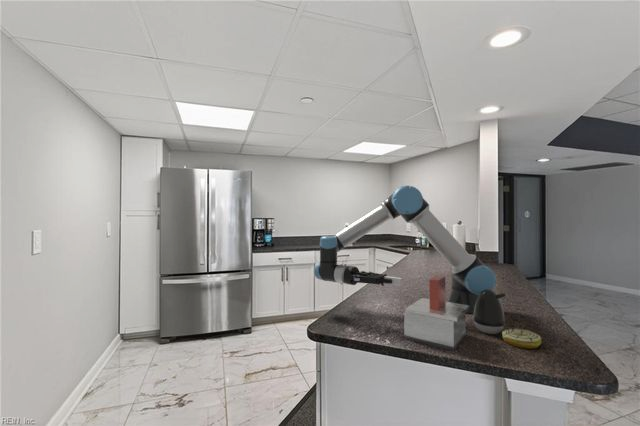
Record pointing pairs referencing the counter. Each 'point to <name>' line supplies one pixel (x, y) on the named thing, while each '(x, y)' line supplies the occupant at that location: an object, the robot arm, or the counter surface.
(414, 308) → the lid
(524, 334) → the decorated donut
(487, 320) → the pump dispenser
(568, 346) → the counter surface
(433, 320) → the grey storage bin
